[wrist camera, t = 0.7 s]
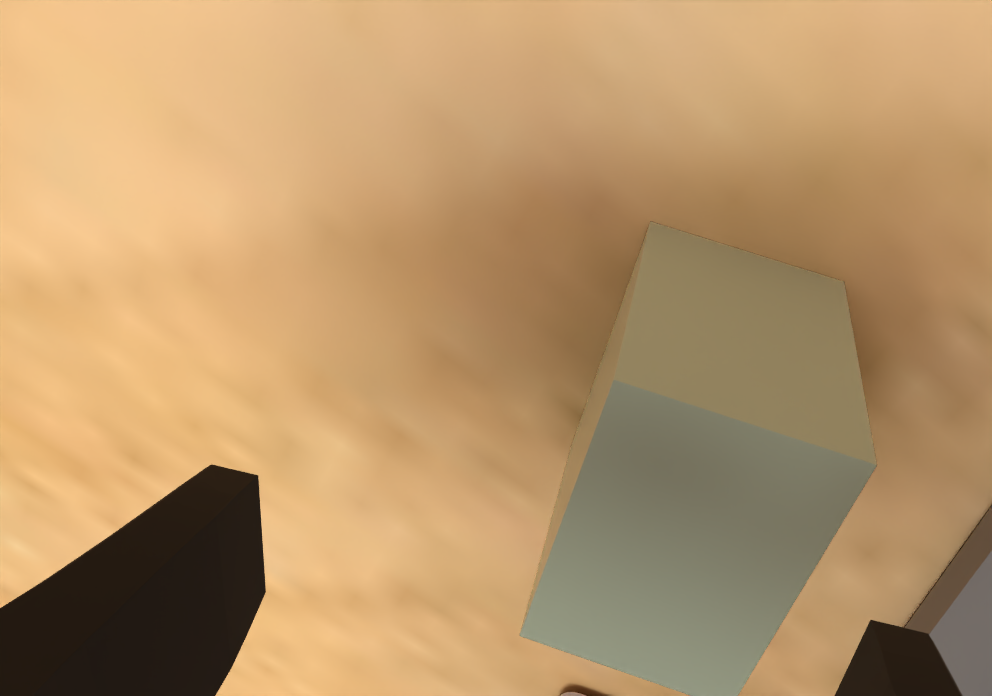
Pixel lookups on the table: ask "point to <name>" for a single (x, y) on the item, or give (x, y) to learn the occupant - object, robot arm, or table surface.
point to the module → (704, 467)
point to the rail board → (964, 613)
